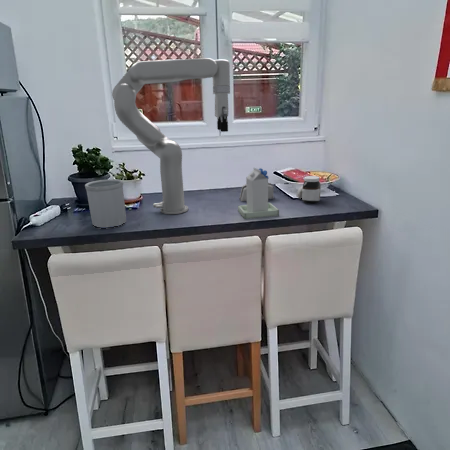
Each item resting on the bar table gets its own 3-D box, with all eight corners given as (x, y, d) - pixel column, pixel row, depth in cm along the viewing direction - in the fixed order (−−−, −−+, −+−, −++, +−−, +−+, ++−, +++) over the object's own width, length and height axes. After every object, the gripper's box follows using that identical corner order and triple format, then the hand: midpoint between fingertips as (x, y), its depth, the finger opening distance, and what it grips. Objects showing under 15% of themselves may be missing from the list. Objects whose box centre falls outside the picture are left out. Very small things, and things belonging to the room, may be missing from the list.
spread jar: (316, 205, 179) (317, 180, 175) (292, 203, 183) (293, 178, 180) (322, 198, 189) (323, 174, 185) (299, 196, 194) (300, 173, 190)
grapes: (265, 188, 213) (265, 166, 209) (270, 190, 207) (270, 168, 203) (245, 190, 210) (244, 168, 206) (249, 193, 204) (249, 170, 200)
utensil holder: (89, 221, 168) (83, 181, 163) (124, 216, 174) (119, 177, 168) (93, 231, 155) (86, 188, 150) (130, 225, 161) (125, 183, 155)
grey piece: (270, 195, 197) (273, 178, 191) (273, 201, 194) (276, 183, 188) (238, 198, 194) (239, 181, 188) (240, 204, 191) (242, 186, 185)
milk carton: (261, 209, 174) (261, 166, 168) (268, 213, 168) (268, 169, 162) (246, 211, 172) (245, 168, 166) (252, 215, 166) (252, 171, 159)
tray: (244, 219, 163) (244, 213, 162) (238, 211, 174) (237, 205, 174) (279, 215, 166) (279, 210, 165) (270, 208, 177) (270, 202, 176)
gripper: (210, 90, 178) (211, 129, 184) (215, 90, 162) (217, 132, 168) (226, 90, 179) (227, 128, 185) (233, 90, 163) (234, 132, 169)
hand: (222, 130), depth 176 cm, fingers open, 9 cm apart
